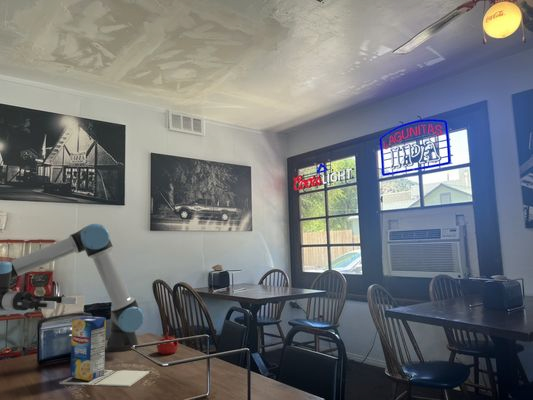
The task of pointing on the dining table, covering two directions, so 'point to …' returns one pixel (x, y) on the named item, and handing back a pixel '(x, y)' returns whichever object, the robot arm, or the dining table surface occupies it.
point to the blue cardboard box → (88, 347)
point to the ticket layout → (114, 378)
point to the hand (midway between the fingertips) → (66, 302)
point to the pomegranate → (167, 346)
